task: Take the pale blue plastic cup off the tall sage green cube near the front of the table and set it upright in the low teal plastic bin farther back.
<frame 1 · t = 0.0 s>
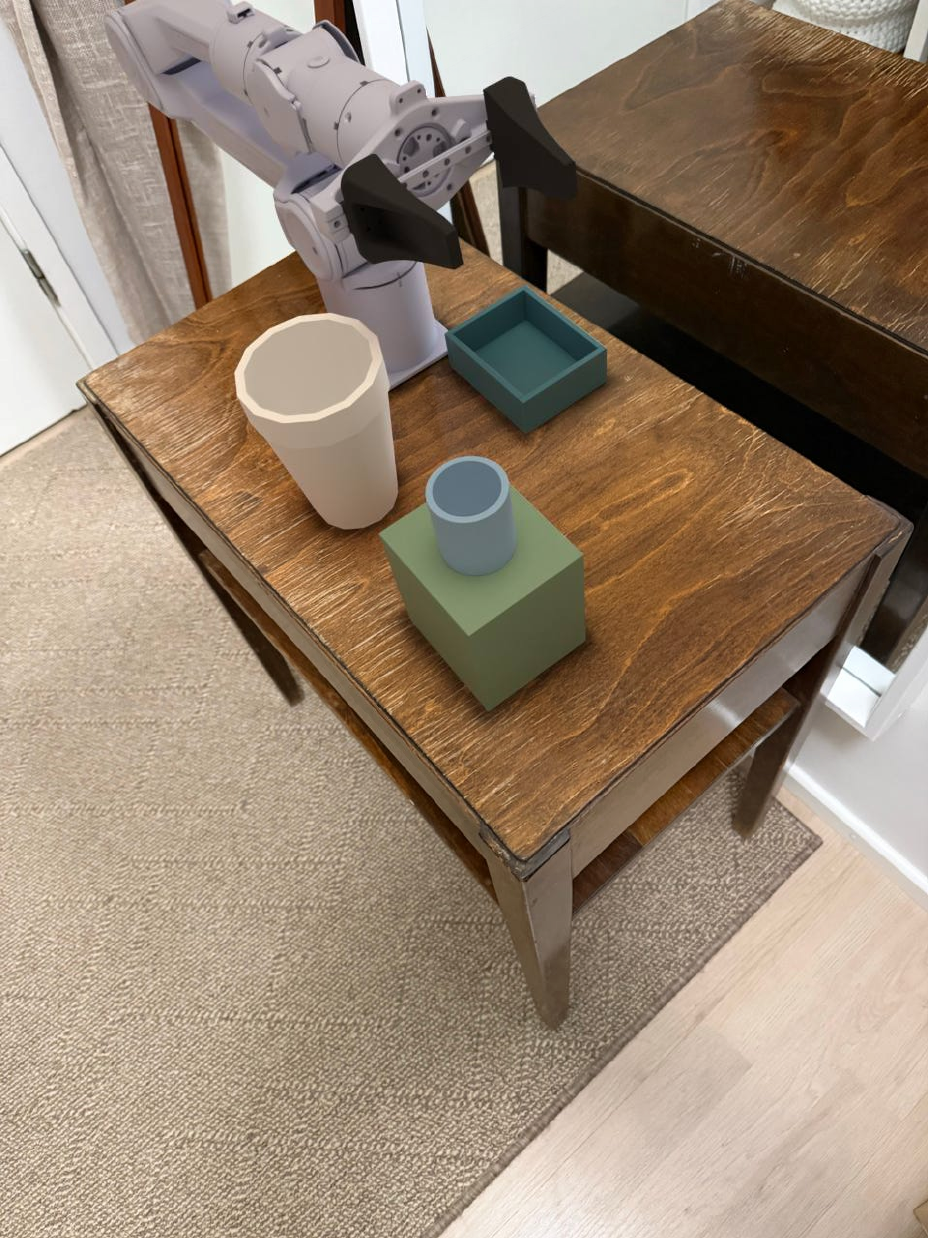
hand: (514, 215, 46), 22 cm above the table, tool horizontal, fingers open, 7 cm apart
foam cup: (357, 496, 66), on the table
blue cup: (478, 543, 50), point 10 cm above the table, touching sage green cube
bin: (526, 373, 70), on the table
sage green cube: (495, 629, 59), on the table
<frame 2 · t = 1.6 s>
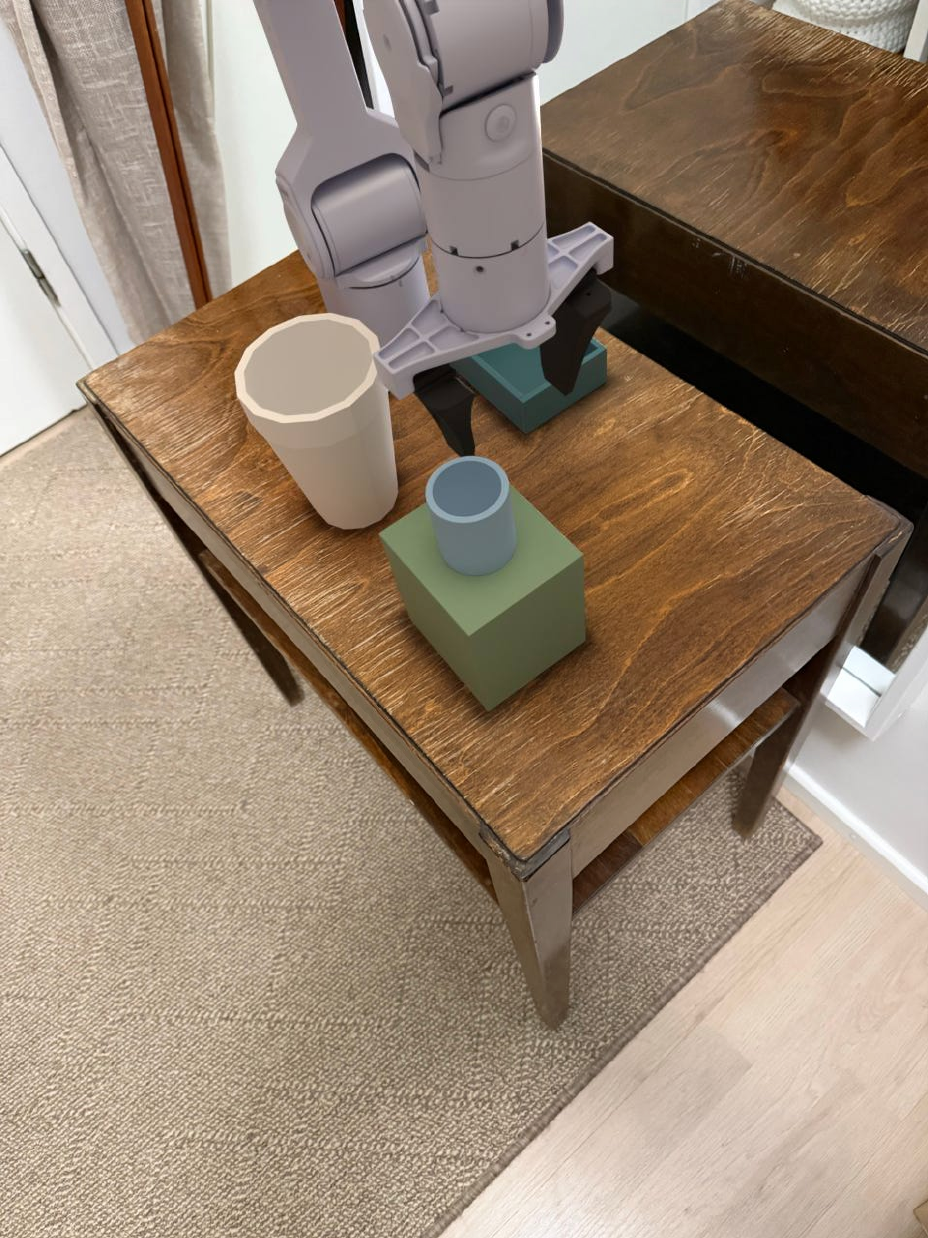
hand: (510, 416, 54), 10 cm above the table, tool pointing down, fingers open, 7 cm apart
nothing on the table moved.
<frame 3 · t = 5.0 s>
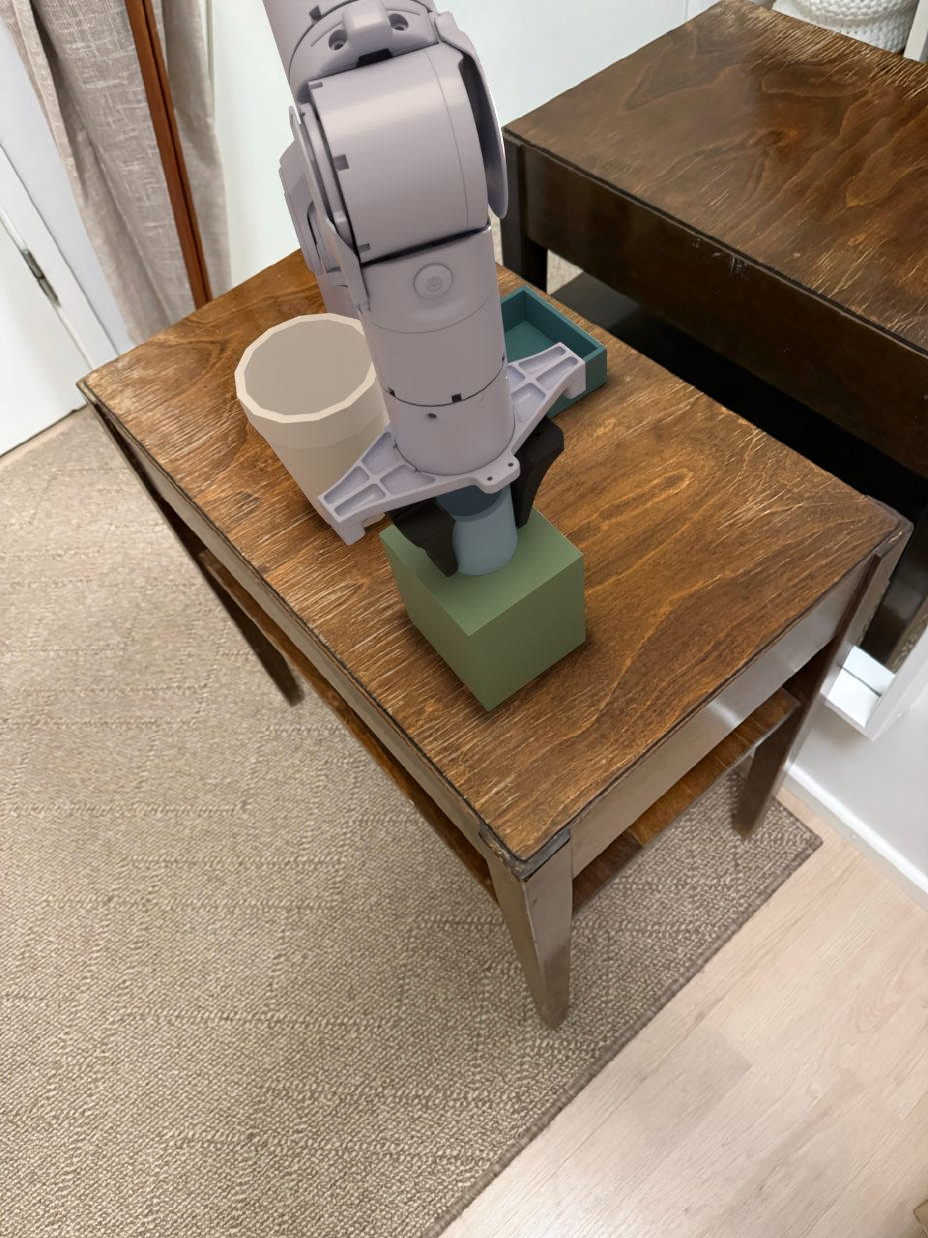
hand: (477, 539, 50), 10 cm above the table, tool pointing down, fingers closed on blue cup, 4 cm apart
blue cup: (478, 543, 50), point 10 cm above the table, touching gripper, sage green cube
everything else where it was.
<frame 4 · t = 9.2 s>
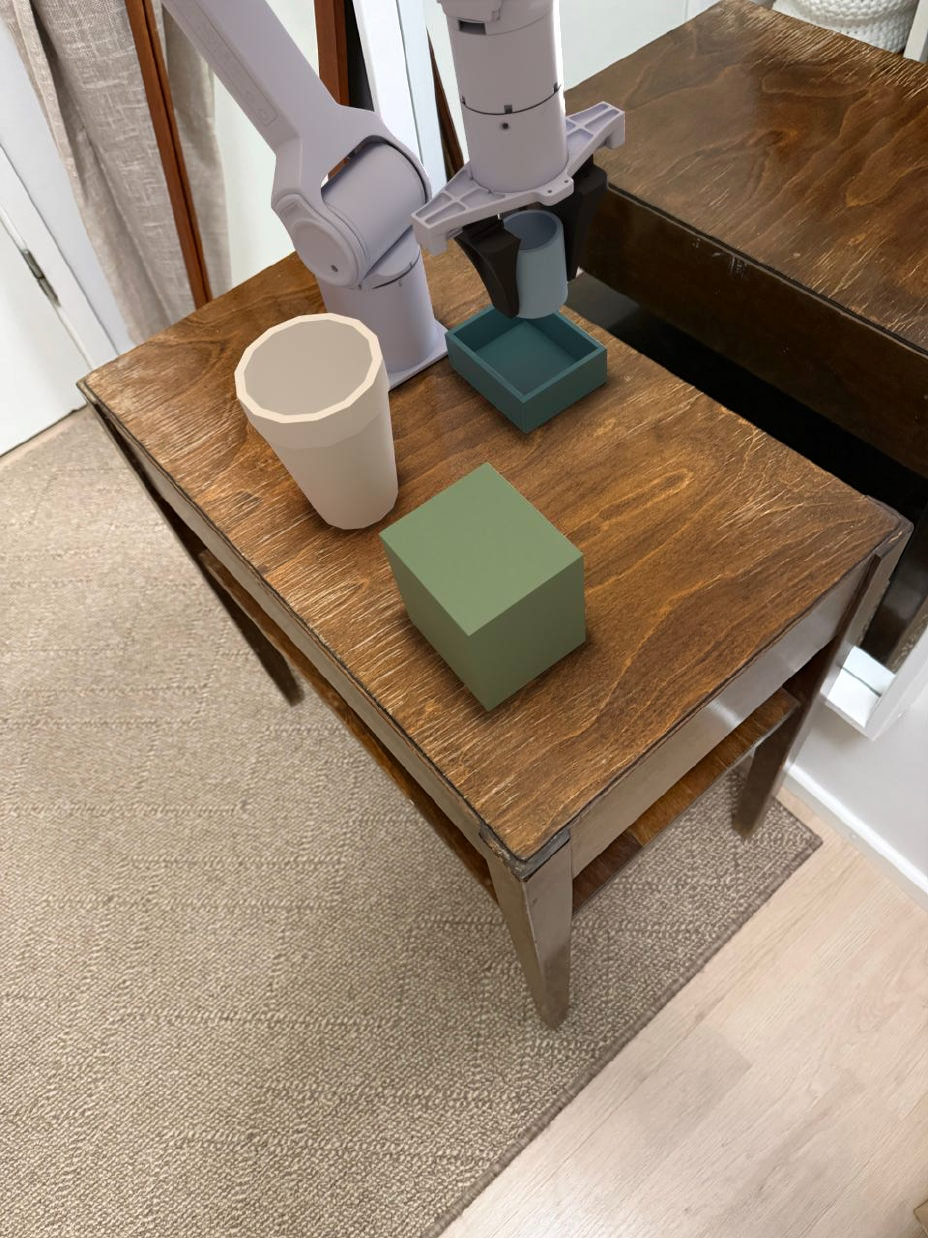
hand: (534, 291, 59), 10 cm above the table, tool pointing down, fingers closed on blue cup, 4 cm apart
blue cup: (535, 296, 60), point 10 cm above the table, touching gripper
everything else where it was.
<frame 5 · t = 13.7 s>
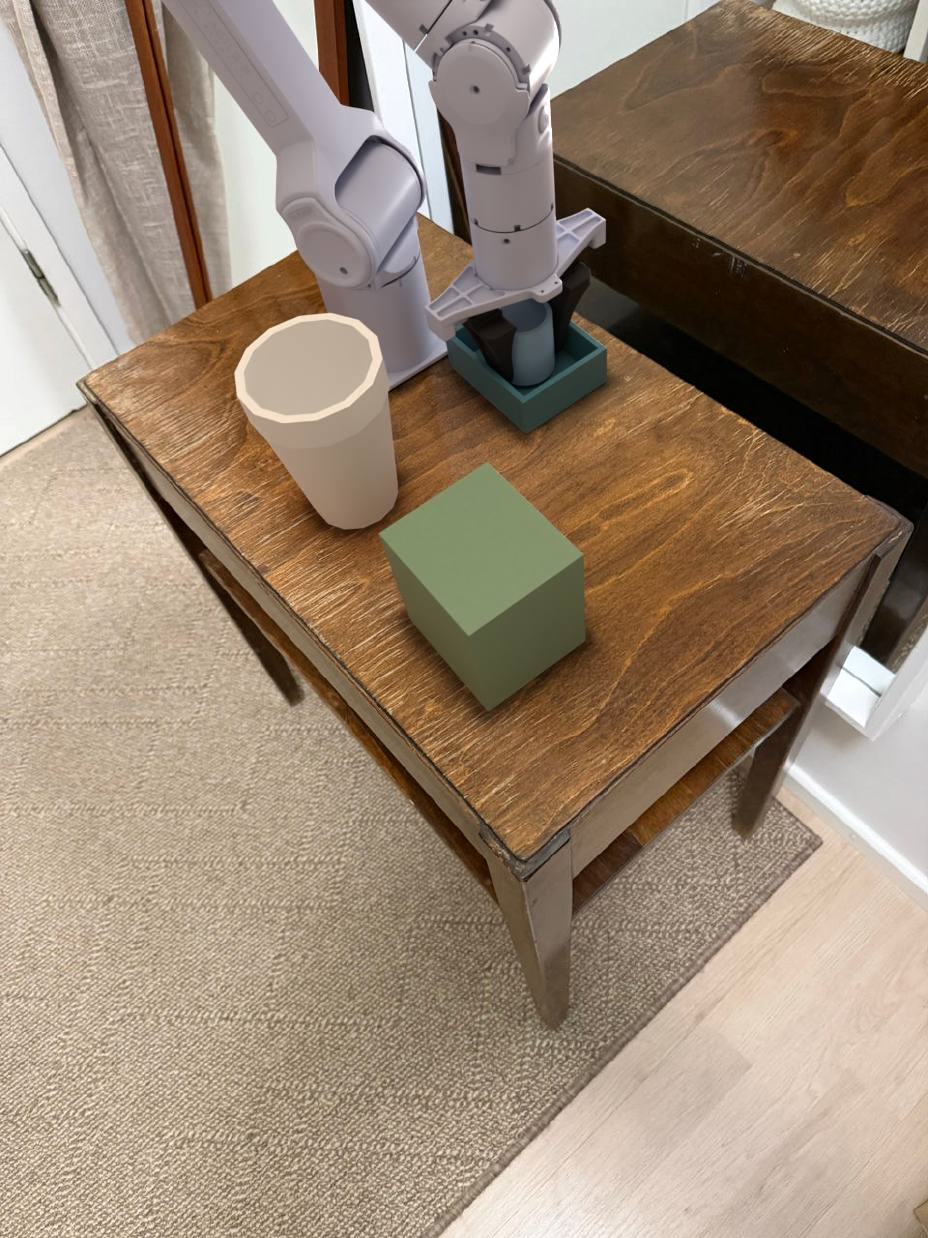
hand: (526, 361, 69), 1 cm above the table, tool pointing down, fingers closed on blue cup, 4 cm apart
blue cup: (526, 365, 69), point 1 cm above the table, touching gripper
everything else where it was.
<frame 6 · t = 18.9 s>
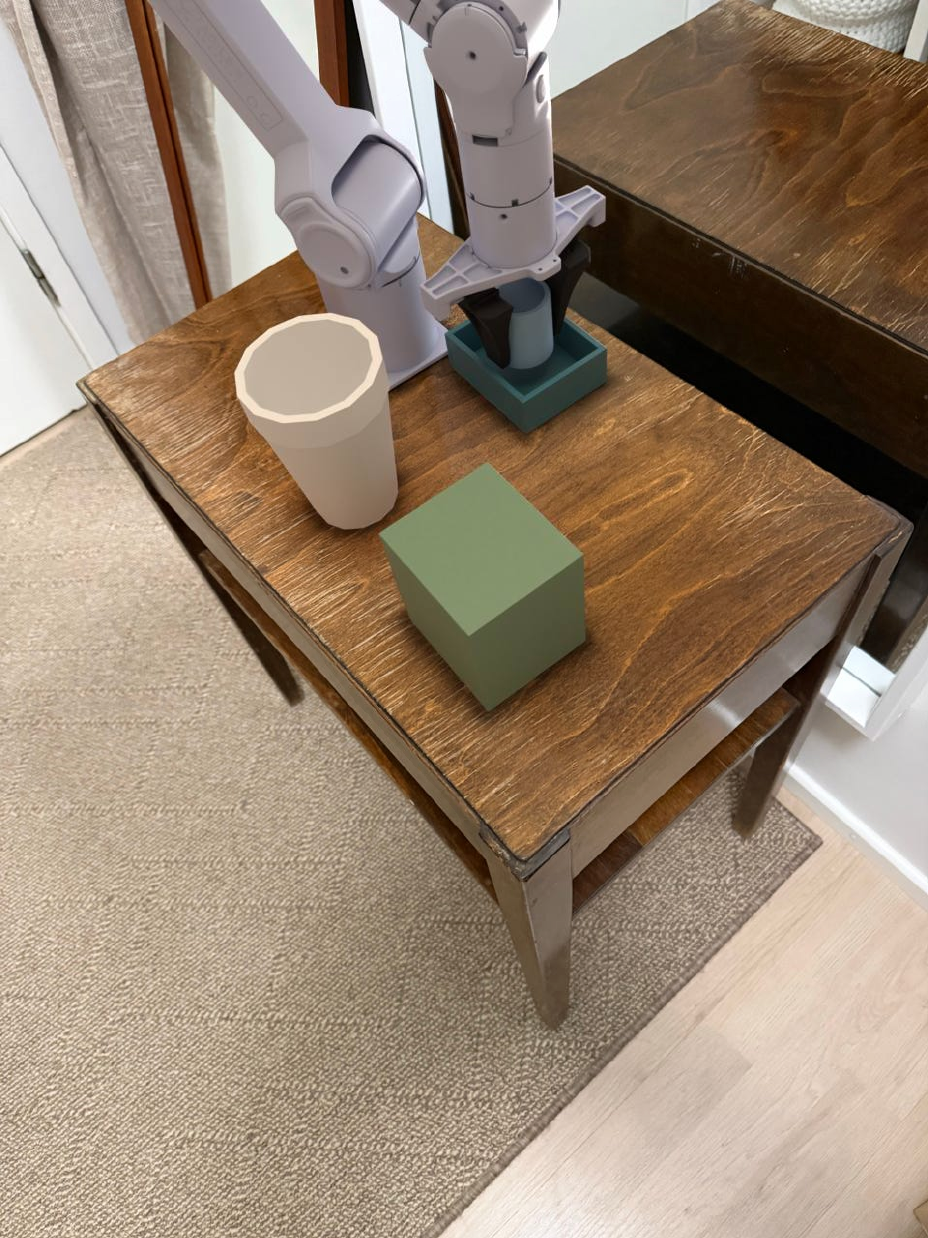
hand: (523, 344, 67), 3 cm above the table, tool pointing down, fingers closed on blue cup, 4 cm apart
blue cup: (524, 348, 68), point 3 cm above the table, touching gripper
everything else where it was.
when the fingers open (3 cm above the table, at t = 23.5 s): blue cup drops 2 cm, resting on bin.
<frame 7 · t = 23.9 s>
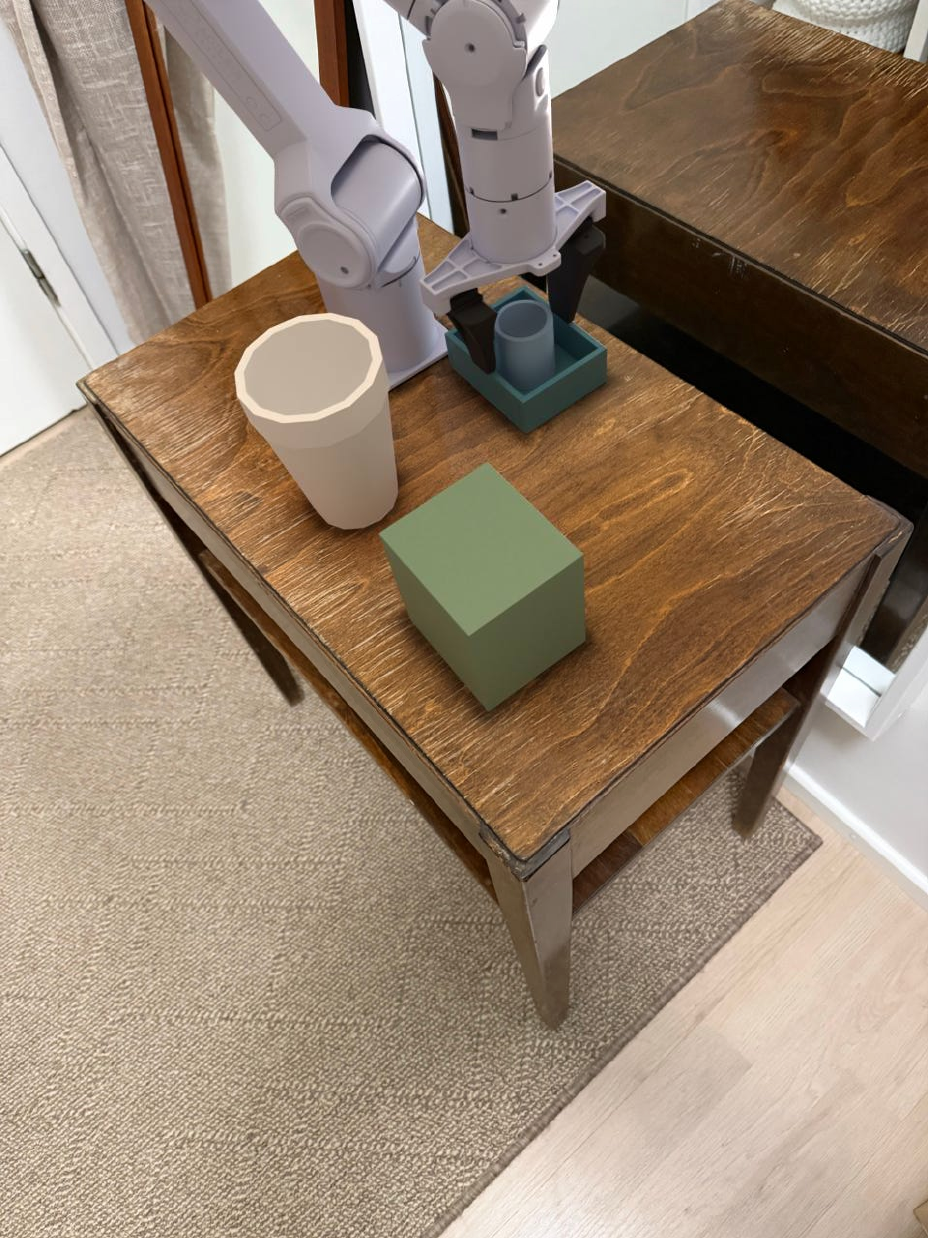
hand: (523, 340, 67), 3 cm above the table, tool pointing down, fingers open, 7 cm apart
blue cup: (527, 369, 69), resting on bin
everything else where it was.
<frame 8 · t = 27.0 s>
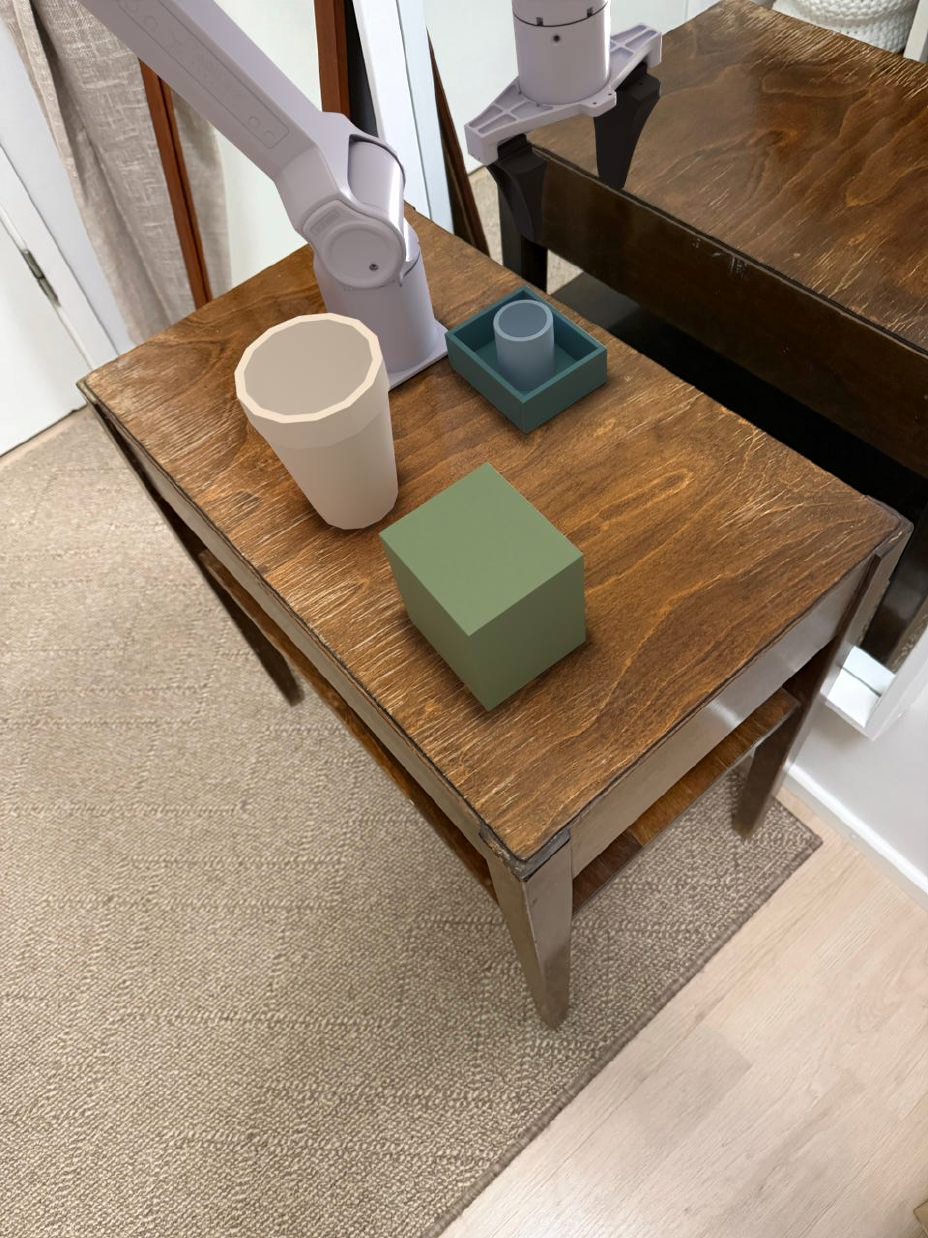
hand: (571, 208, 63), 10 cm above the table, tool pointing down, fingers open, 7 cm apart
nothing on the table moved.
at the end: blue cup 0.1 cm off-centre in the bin, point 0.4 cm above the bin's base; blue cup tilted 0° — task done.
